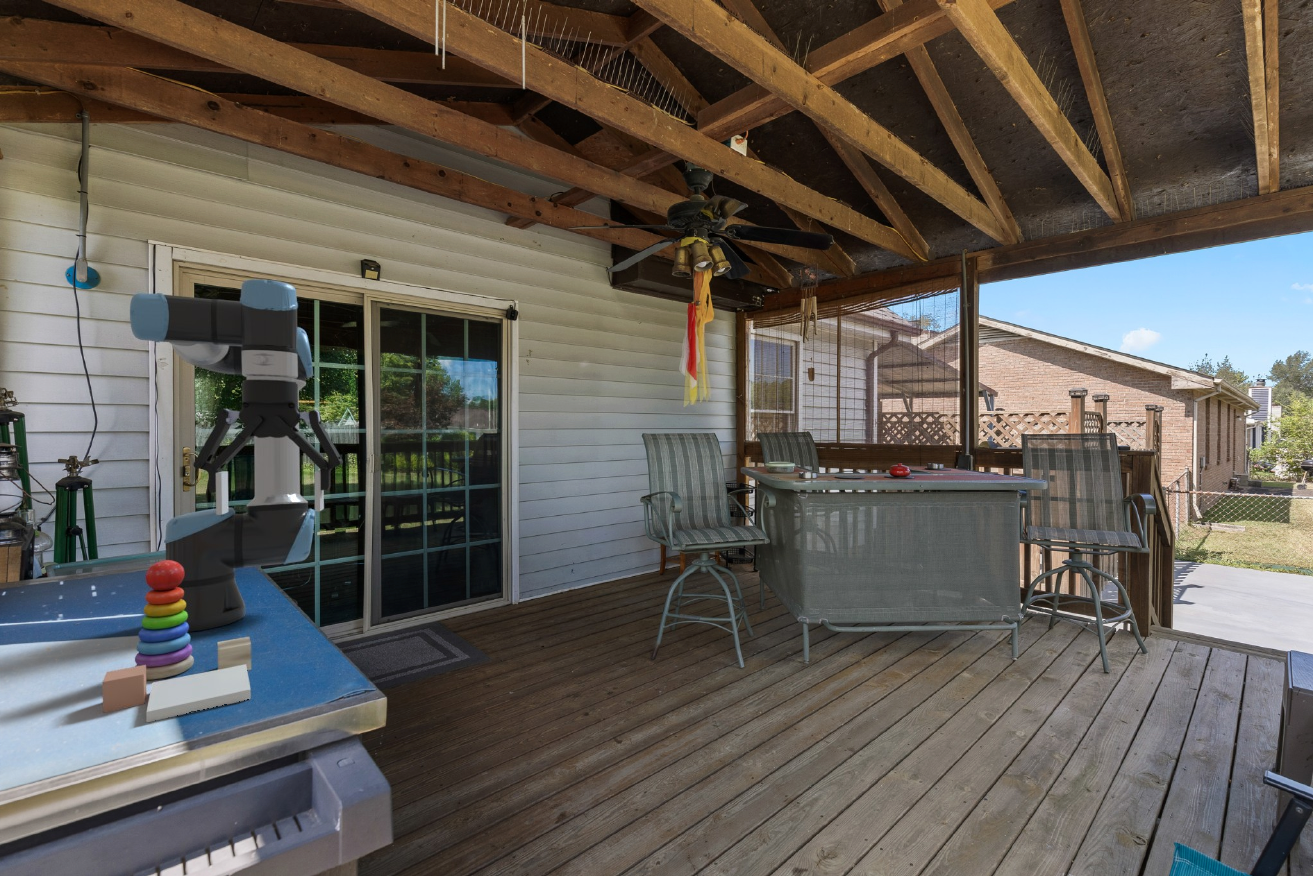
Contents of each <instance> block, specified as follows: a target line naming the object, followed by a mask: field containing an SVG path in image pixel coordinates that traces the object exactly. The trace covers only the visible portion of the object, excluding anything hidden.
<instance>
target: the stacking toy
mask: <svg viewBox="0 0 1313 876" xmlns="http://www.w3.org/2000/svg"><path fill="white" fill-rule="evenodd" d="M183 578H184V569H183V567H182V566H181V564H179V563H178V562H175V561H171V560H166V559H165V560H160V561H158V562H155V563H154V564H152V565H151V566H150V567H149V568H148V569H147V570H146V574H145V582H146V584H147V585H148V587H149V588H151V590H150V591H148V592H146V593H145V594H146V595H144V596H145V597H144V598H145V601H146V602H147V604H146V605H144V608H143V613H144V615H145V616H143V618H142V619H141V626H142V627H143V628H141V629H140V630H139V632H138V638H139V641H138V642H137V644H136V650H137V654H135V657H134V662H135V666H134V667H136V666H142V665H146V681H147V680H148V681H152V680H159V679H161V680H162V679H165V678H170V677H174V676H177V675H179V674H183V672H186V671H188V670H189V669H191V667H192V666H193V665H194V662H195V658H194V657H193V656H192V653H193V646H192V644H190V642H191V639H192V638H191V635H190V634H189V632H187V631H188V629H189V625H188V623H187V622H185V621H186V620H187V618H188V614H187V612H186V611H184V609H185V607H186V602H185V601H184V600H182V599H181V598H182V597H183V596H184V591H183V589H181V588H179V587H177V586H178V585H179V584H180V583H181V582H182V580H183Z"/></svg>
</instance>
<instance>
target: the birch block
mask: <svg viewBox="0 0 1313 876" xmlns="http://www.w3.org/2000/svg"><path fill="white" fill-rule="evenodd" d="M245 664H246V666H247V670H248V671H252V642H251V639H250V636H245V637H239V638H233V639H228V640H222V641H217V670H219V669H224V668H229V667H235V666H240V665H245Z"/></svg>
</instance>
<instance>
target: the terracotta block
mask: <svg viewBox="0 0 1313 876" xmlns="http://www.w3.org/2000/svg"><path fill="white" fill-rule="evenodd" d="M135 666H136V665H135ZM135 666H132V667H127V668H121V669H115V670H111V671H110V670H109V671H106V672H105V675H104V678H103V680H102V712H103V713H107V712H111V711H116V710H117V711H118V710H122V709H126V708H130V707H135V706H139V705H140V706H141V705H144V704H145V702H146V696H147V680H146V665H142V666H136V667H135Z"/></svg>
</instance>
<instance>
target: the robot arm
mask: <svg viewBox="0 0 1313 876" xmlns="http://www.w3.org/2000/svg"><path fill="white" fill-rule="evenodd" d="M240 288H241V290H240V297H239V300H225V299H216V298H215V299H213V298H212V299H210V298H202V297H201V298H200V297H192V296H182V295H172V294H163V292H162V293H161V292H157V293H143V292H139V293H138V292H137V293H135V294H134V295H133V296H132V297H131V299H130V304H129V321H130V327H131V328H130V329H131V331H132V334H133V336H134V337H135V338H136V339H138V340H140V341H149V342H155V343H169V344H170V345H171V346H172V348H173V351H174V353H176V355H177V356H178V357H179V358H181V359H182V360H183V361H184V362H186V363H188V364H190V365H193V366H195V367H198V368H201V369H204V370H207V371H212V372H216V373H220V374H225V375H226V374H227V375H240V376H241V375H242V376H243V377H245V380H243V381H242V382H241V395H242V396H241V398H242V399H241V401H242V402H241V403H242V404H241V405H242V407H241V410H240V411H239V410H232V409H227V408H221V409H219V410H218V411H217V417H216V418H217V419H216V424H215V425H214V427H213V429H212V430H211V432H210V434H209V436H208V438H207V439H206V441H205V443H204V444H203V446H202V448H201V449H200V451H199V453H198V455H197V457H196V458H195V459H194V462H193V464H192V465H193V467H194V468H195V469H196V470H197V469H200V470H204V471H205V472H207V473H208V490H209V493H210V494H211V493H212V494H213V493H214V494H215V500H216V501H215V508H211V509H204V510H199V511H194V512H189V513H185V514H182V515H181V514H180V515H178V516H174V517H173V518H171V519H169V520H168V522H167V523H166V526H165V539H164V540H163V541H164V544H165V560H171V561H175V562H178V563H179V564H181V566H182V567H183V569H184V578H183V580H182V582H181V583H180V584H179V585H178V586H177V587H179V588H181V589H183V591H184V596H183V597H182V598H181V599H182V600H184V601H185V602H186V607H185V609H184V611H186V612H187V614H188V618H187V620H186V621H185V622H187V623H188V625H189V629H188V631H187V633H190V632H196V631H205V630H209V629H210V630H211V629H215V628H218V627H222V626H223V627H224V626H225V625H226V626H227V625H229V624H230V625H231V624H232V623H236V622H237V621H240V620H242V619H243V618H244V617H245V616H246V603H245V601H244V599H243V596H242V593H241V592H240V590H239V587H238V584H237V582H236V569H242V568H253V567H261V566H271V565H273V566H274V565H281V564H283V565H287V564H290V563H291V564H292V563H296V562H298V563H299V562H303V561H305V560H306V559H307V558H308V557H309V556H310V553H311V547H312V542H313V535H314V529H315V528H314V526H315V519H316V518H315V517H316V512H321V511H324V509H325V503H324V501H325V500H324V498H325V497H324V495H325V493H324V491H329V490H330V489H331V485H332V483H331V480H332V479H331V471H332V469H335V468H336V467H339V466H342V465H343V463H344V461H343V459H342V457H341V455H340V453H339V451H338V450H337V448H336V446H335V445H334V443H333V441H332V439H331V438H330V436H329V434H328V433H327V430H326V428H325V427H324V425H323V423H322V417H321V415H322V414H321V412H320V411H319V410H316V409H312V410H309V411H301V410H300V405H299V404H300V403H299V400H300V398H299V397H300V395H299V394H300V393H299V392H300V391H301V390H302V389H303V388H304V387H306V385H307V379H310V378H312V377H313V376H314V371H313V370H314V369H313V361H312V353H311V347H310V342H309V338H308V337H309V336H308V335H307V332H306V331H305V329H303V328H301V327H299V326H298V308H299V303H298V301H297V300H298V299H297V298H298V297H297V289H296V287H294V286H293V285H292V284H289V283H287V282H283V281H278V280H272V279H263V278H262V279H259V278H258V279H257V278H254V279H247V280H244V281H243V282H242V284H241V287H240ZM238 419H239V420H240V421H241V422H242V423H243V425H244V426H245V427H243V429H242V430H241V431H240V432H239V433H238V434H237V436H236V437H235V438H234V439H233V440H232V441H231V442H230V443H229V444H228V445H227V446H226V447H225V448H224V449H223V451H222V452H220V454H218V456H217V457H216V458H214V457H215V455H216V453H217V451H218V449H219V448H220V445H221V444H222V442H223V440H224V439H225V437H226V435H227V433H228V431H229V430H230V427H231V425H232V424H235V423H236V422H237V420H238ZM302 419H303V420H304V422H305V423H306V424H307V425H310V427H311V430H312V431H313V433H314V435H315V436H316V439H317V440H318V442H319V444H320V445H321V448H322V450H323V451H324V452H325V454H326V456H327V458H328V460H329V461H328V460H327V459H326V457H324V455H323V454H321V452H319V451H318V450H317V448H315V447H314V445H313V444H312V443H311V441H309V440H308V439H307V438H306V437H305V436H304V435H303V433H302V431H300V421H301V420H302ZM253 438H254V497H253V499H251V501H249V502H248V503H247V504H246V512H245V513H236V510H235V509H234V508H233V507H229V471H227V470H226V471H222V470H223V468H225V466H226V465H227V464H229V463H230V462H231V460H232V459H233V458H234V457H235V456H236V455H237V454H238V453H239V452H240V451H241V450H242V449H243V448H244V447H245V446H246V445H247V444H248V442H250V441H251V440H253ZM300 450H301V451H302V452H303V453H304V454H305V455H306V457H308V458H309V459H310V460H311V462H312V463H314V464H315V465H316V467H318V469H317V470H315V471H314V509H312V508H309V502H308V500H306V499H305V498H304V497H303V496H302V495H301V483H300V481H301V476H300V475H301V472H300V471H301V470H300ZM213 458H214V460H213Z"/></svg>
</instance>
